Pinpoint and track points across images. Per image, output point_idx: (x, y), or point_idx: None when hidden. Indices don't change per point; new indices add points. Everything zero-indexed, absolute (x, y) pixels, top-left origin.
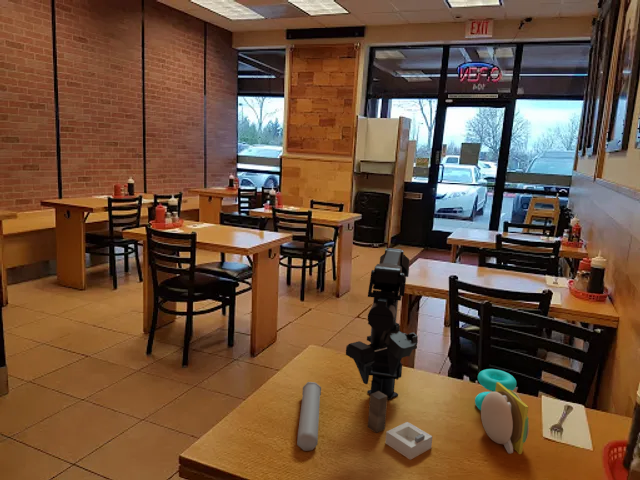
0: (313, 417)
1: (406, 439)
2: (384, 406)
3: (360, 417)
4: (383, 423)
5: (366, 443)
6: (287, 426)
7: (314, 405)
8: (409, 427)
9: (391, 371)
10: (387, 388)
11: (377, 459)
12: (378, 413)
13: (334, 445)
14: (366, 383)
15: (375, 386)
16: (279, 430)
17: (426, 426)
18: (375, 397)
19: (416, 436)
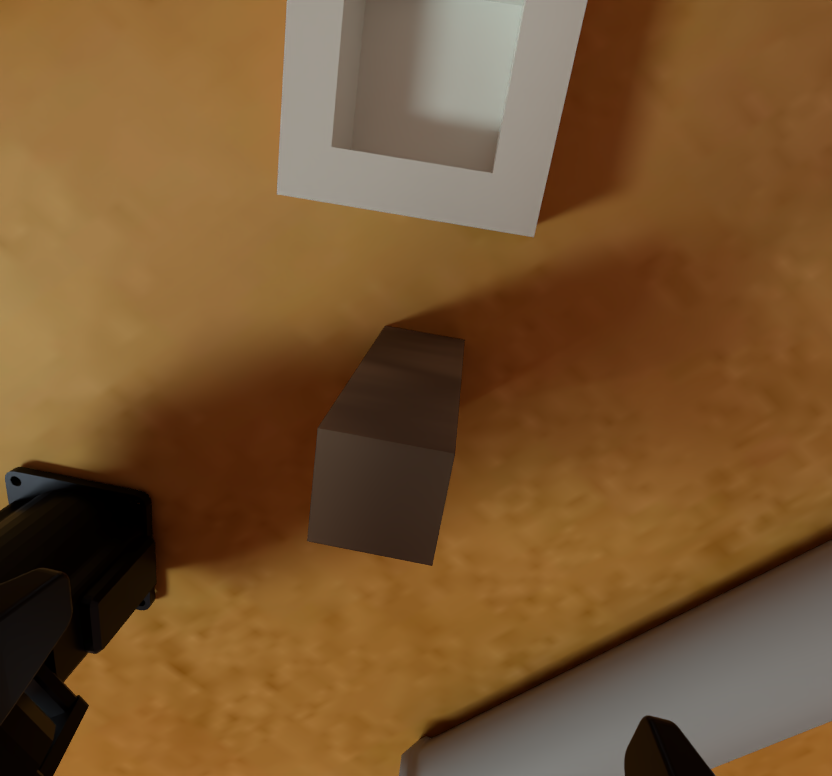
0: (785, 682)
1: (394, 128)
2: (376, 391)
3: None
4: (396, 341)
5: (613, 321)
6: None
7: None
8: (332, 131)
9: (23, 648)
10: (53, 538)
11: (737, 156)
12: (452, 388)
13: (764, 449)
14: (682, 734)
15: (114, 602)
16: None
17: (125, 128)
18: (445, 499)
19: (352, 45)
